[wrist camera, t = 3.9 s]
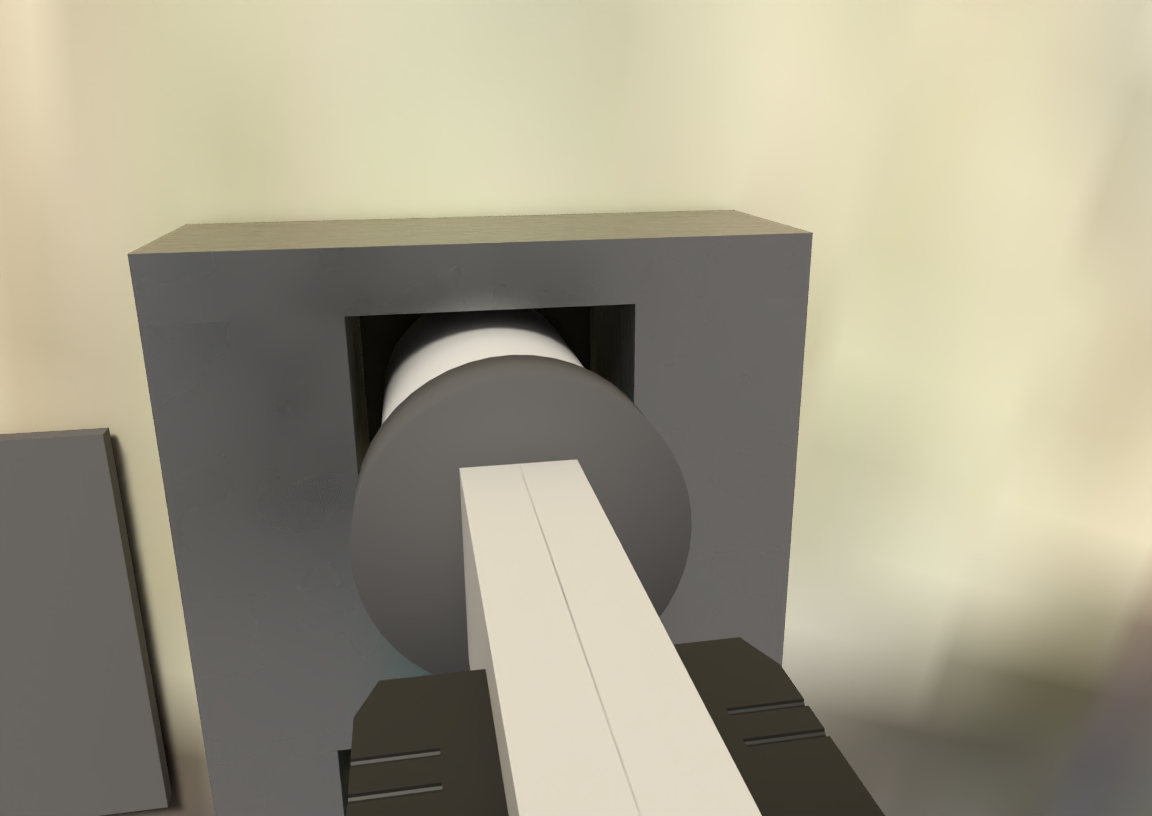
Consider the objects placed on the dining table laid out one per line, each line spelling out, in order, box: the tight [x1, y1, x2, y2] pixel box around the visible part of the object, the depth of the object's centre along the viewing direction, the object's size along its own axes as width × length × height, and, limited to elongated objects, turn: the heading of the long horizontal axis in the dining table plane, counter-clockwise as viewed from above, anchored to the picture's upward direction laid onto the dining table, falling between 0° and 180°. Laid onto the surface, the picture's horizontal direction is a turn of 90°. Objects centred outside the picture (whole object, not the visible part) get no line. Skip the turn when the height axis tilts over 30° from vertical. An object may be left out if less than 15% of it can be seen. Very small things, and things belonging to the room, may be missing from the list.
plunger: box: [350, 308, 692, 675], centre depth 16 cm, size 5×5×7 cm
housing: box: [128, 210, 813, 816], centre depth 19 cm, size 17×11×4 cm, turn 1°
